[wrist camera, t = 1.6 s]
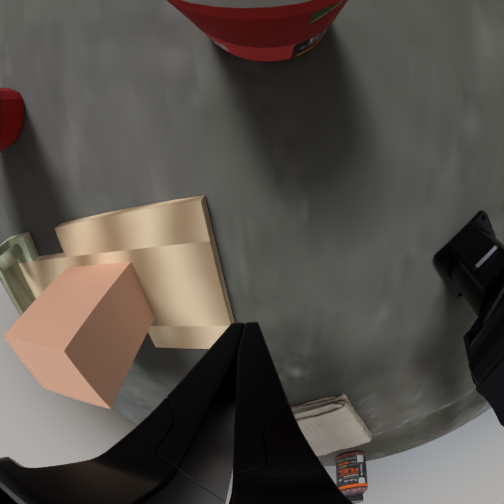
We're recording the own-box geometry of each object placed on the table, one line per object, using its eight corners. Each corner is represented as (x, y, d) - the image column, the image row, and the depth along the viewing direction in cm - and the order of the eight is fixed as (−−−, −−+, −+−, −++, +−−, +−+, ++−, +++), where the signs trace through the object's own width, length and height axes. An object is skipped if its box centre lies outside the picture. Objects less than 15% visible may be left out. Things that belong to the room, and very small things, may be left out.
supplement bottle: (357, 447, 39) (361, 499, 29) (369, 453, 41) (373, 499, 31) (330, 456, 41) (331, 505, 31) (343, 461, 43) (345, 506, 33)
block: (131, 261, 21) (63, 351, 12) (154, 318, 24) (111, 409, 15) (67, 267, 22) (3, 336, 13) (91, 316, 25) (44, 387, 16)
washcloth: (343, 386, 29) (346, 407, 27) (373, 430, 36) (376, 445, 33) (258, 409, 33) (256, 428, 30) (309, 447, 40) (309, 462, 37)
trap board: (205, 195, 19) (187, 217, 15) (239, 339, 26) (233, 374, 22) (11, 236, 23) (-12, 254, 19) (58, 330, 29) (43, 351, 26)
